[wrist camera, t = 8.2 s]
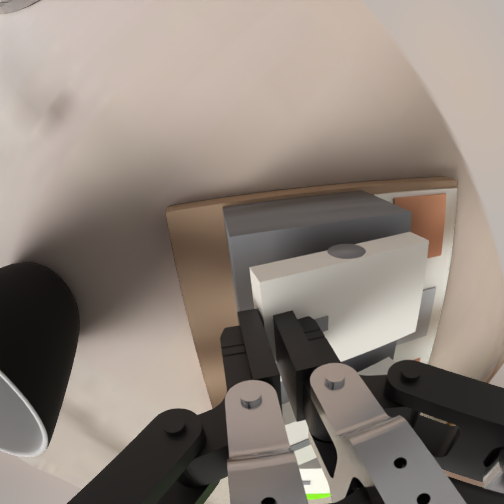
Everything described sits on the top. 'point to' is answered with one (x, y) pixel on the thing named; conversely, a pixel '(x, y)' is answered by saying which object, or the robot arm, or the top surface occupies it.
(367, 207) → the switch unit
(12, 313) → the mug
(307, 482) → the switch far
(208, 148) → the top surface
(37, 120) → the top surface
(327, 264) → the switch near
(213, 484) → the robot arm
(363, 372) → the switch middle
